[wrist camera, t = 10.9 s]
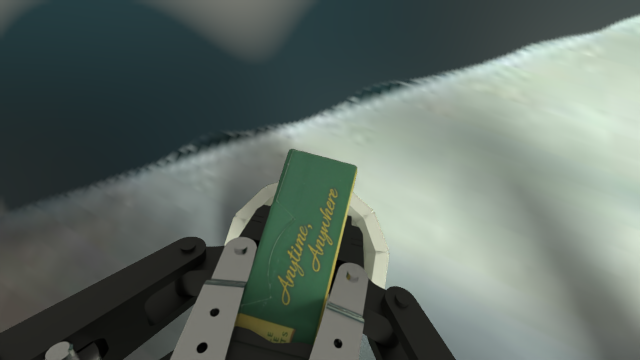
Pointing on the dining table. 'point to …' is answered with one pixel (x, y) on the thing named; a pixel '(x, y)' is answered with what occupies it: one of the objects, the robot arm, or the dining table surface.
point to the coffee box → (298, 249)
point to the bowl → (361, 218)
